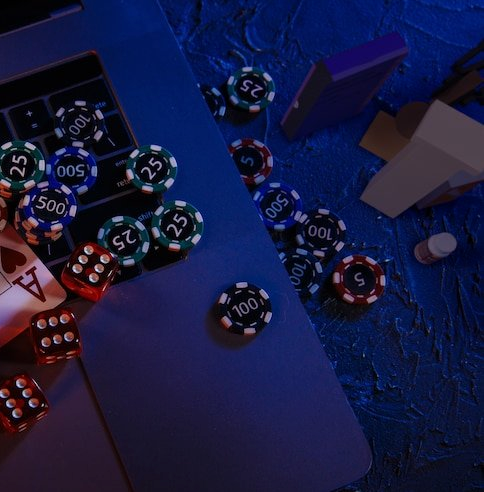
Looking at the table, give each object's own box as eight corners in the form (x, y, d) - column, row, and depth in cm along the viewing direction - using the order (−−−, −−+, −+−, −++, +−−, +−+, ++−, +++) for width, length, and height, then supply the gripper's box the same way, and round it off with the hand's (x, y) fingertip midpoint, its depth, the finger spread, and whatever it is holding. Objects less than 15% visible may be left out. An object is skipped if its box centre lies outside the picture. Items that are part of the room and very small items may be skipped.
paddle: (491, 91, 122) (492, 89, 120) (409, 147, 128) (409, 145, 126) (466, 62, 123) (467, 60, 122) (387, 118, 130) (387, 117, 128)
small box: (418, 210, 130) (450, 188, 118) (406, 183, 132) (437, 158, 119) (453, 201, 131) (489, 178, 118) (441, 174, 133) (476, 148, 120)
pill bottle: (418, 266, 127) (439, 256, 119) (410, 245, 128) (430, 233, 120) (440, 261, 127) (462, 251, 119) (432, 240, 129) (453, 228, 120)
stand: (416, 197, 131) (502, 135, 102) (399, 227, 129) (482, 172, 100) (366, 168, 133) (436, 98, 104) (348, 197, 131) (415, 134, 102)
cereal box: (349, 95, 138) (397, 29, 114) (360, 113, 136) (410, 50, 113) (280, 123, 136) (314, 62, 113) (290, 141, 135) (327, 83, 111)
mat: (428, 138, 135) (429, 137, 134) (408, 173, 133) (408, 172, 132) (379, 110, 137) (380, 109, 136) (358, 144, 134) (359, 144, 134)
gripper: (544, 87, 127) (455, 141, 124) (493, 29, 131) (406, 80, 128) (570, 67, 120) (477, 124, 117) (515, 6, 124) (423, 59, 121)
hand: (440, 101), depth 122 cm, fingers closed on paddle, 3 cm apart
